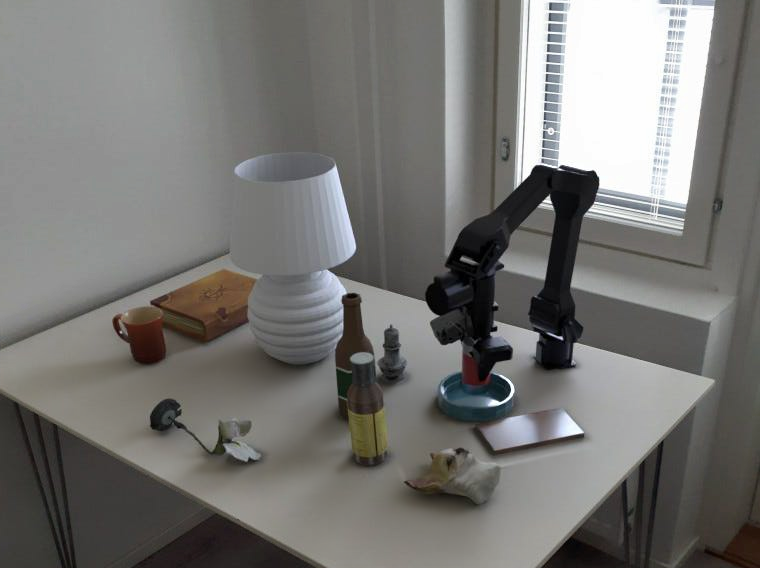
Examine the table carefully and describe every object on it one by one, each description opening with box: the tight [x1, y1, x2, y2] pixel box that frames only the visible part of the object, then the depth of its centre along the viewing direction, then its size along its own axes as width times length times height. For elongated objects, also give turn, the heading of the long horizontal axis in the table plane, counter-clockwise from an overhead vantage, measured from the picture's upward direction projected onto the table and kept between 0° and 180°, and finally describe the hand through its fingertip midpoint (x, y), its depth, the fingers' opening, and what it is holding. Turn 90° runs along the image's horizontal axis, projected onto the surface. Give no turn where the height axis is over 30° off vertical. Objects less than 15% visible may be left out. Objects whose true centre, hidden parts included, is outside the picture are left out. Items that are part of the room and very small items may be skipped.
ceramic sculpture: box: [403, 447, 502, 505], centre depth 139 cm, size 11×9×15 cm
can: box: [461, 337, 490, 395], centre depth 160 cm, size 5×5×10 cm
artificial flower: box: [149, 397, 261, 463], centre depth 155 cm, size 9×22×10 cm, turn 50°
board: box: [474, 407, 585, 456], centre depth 154 cm, size 17×9×1 cm, turn 105°
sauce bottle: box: [347, 352, 388, 467], centre depth 146 cm, size 6×6×20 cm
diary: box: [149, 268, 259, 344], centre depth 201 cm, size 23×19×6 cm
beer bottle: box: [334, 292, 377, 421], centre depth 157 cm, size 8×8×24 cm
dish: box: [437, 370, 516, 423], centre depth 163 cm, size 14×14×3 cm
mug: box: [112, 305, 167, 365], centre depth 184 cm, size 12×9×10 cm
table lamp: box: [229, 151, 357, 365], centre depth 174 cm, size 25×25×40 cm
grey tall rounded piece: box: [377, 324, 408, 384], centre depth 171 cm, size 6×6×12 cm
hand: (476, 373), depth 161 cm, fingers closed on can, 5 cm apart
